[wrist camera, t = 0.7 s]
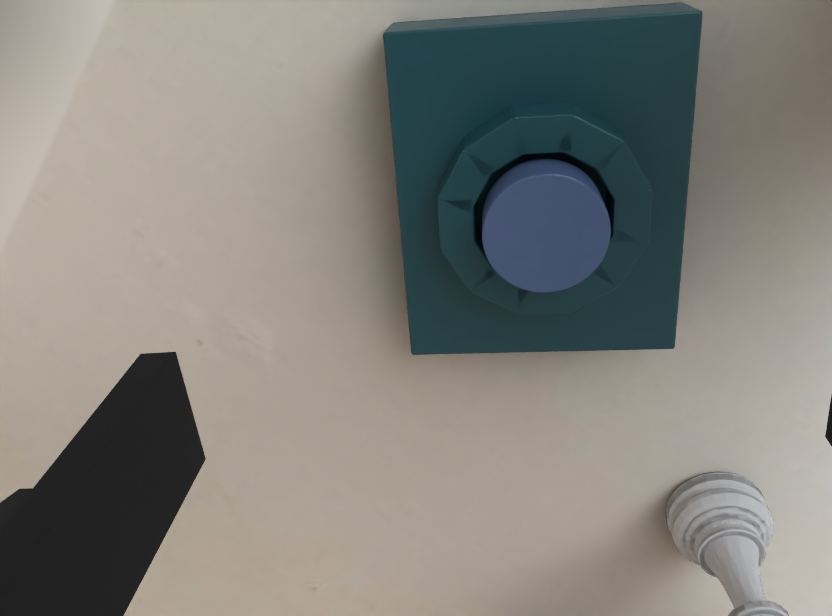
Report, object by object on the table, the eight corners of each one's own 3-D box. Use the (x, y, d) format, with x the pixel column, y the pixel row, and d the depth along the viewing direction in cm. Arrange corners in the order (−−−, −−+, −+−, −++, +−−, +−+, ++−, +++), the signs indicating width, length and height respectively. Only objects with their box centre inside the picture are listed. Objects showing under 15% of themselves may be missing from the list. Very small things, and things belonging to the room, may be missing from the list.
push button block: (391, 22, 27) (375, 40, 23) (683, 2, 26) (718, 17, 22) (416, 323, 33) (406, 379, 29) (660, 316, 32) (685, 374, 28)
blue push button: (479, 160, 25) (479, 177, 24) (605, 154, 25) (613, 170, 23) (484, 273, 27) (484, 295, 25) (601, 269, 27) (608, 291, 25)
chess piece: (644, 510, 36) (695, 704, 27) (717, 453, 34) (797, 640, 25) (710, 559, 37) (780, 761, 28) (784, 506, 35) (884, 704, 26)
